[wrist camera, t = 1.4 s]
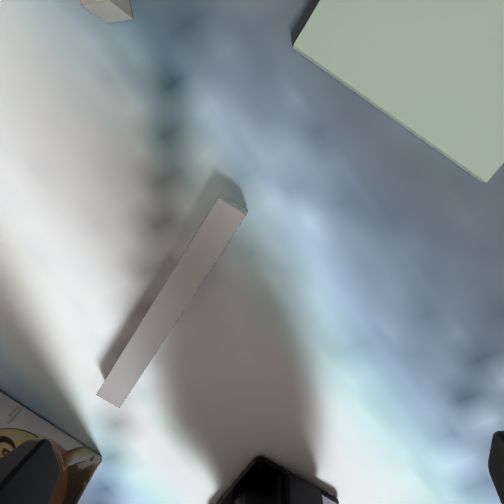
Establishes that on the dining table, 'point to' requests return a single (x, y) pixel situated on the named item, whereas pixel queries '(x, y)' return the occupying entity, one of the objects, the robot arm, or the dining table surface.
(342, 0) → the mat
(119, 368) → the rod
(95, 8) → the channel
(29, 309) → the dining table surface
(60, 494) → the coffee box
